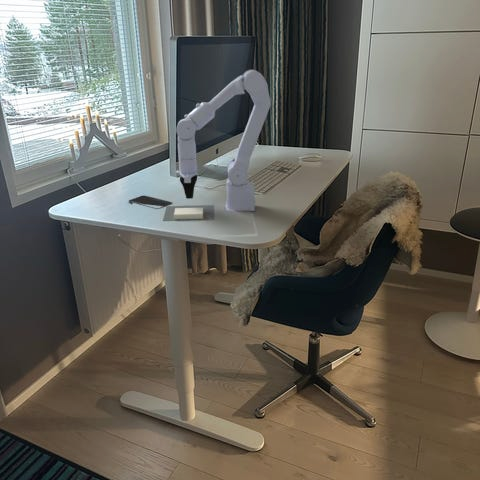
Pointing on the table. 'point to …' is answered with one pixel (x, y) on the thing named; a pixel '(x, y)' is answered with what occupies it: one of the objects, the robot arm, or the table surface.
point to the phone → (150, 201)
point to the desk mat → (207, 209)
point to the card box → (188, 213)
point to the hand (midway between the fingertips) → (189, 197)
